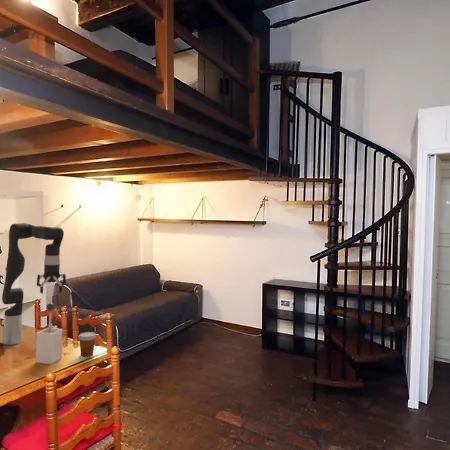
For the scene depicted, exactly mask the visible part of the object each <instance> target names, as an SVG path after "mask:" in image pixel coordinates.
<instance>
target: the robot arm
mask: <svg viewBox="0 0 450 450" xmlns="http://www.w3.org/2000/svg"><path fill="white" fill-rule="evenodd" d="M8 230H9V231H8V255H7V260H6V267H5V268H6V269H5V280H4V283H3V284H4V285H3V288H2V294H1V295H2V297H1V301H2V304H3V305H12V304H13V306H11V307H9V308H7V309H6V310H5V311H4V319H3V321H4V323H3V325H4V326H3V327H2V336H1V337H2V339H1V344H3V345H6V346H7V345H8V346H10V345H11V346H12V345H18V344H20V343H22V325H23V307H24V306H23V305H24V304H23V303H24V289H23V288H21V287H16V288H15V287H14V288H12V287H13V285H14V283H15V281H16V280H17V279H18V278H19V277H20V276H21V275H22V274H23V272H24V271H25V265H26V264H25V263H26V258H25V256H24V254H23V253H22V251H21V249H20V248H19V240H24V239H29V238H35V239H39V240H40V239H41V240H45V241H52V242H51V243H49V244H47V245H45V250H44V252H45V253H44V254H45V255H44V264H43V265H44V266H43V268H44V270H43V274H40V273H39V274H37V278H36V286H37V287H39V293H40V294H41V295H43V294H44V286H45V284H47V283H57V284H58V285H59V286H58V293H59V294H61V293H62V292H63V287H64V286H65V285H67V282H66V280H67V278H66V273H61V274H60V271H61V270H60V269H61V268H60V264H61V259H60V251H61V250H60V248H61V245H62V242H63V239H64V235H65V232H64V229H63V228H62V227H60V226H43V225H32V224H31V223H27V222H25V223H24V222H23V223H21V222H20V223H12V224H11V225H10V226H9V229H8ZM60 277H61V278H62V282H61V280H59V279H60ZM42 278H43V280H42V283H40V280H41V279H42Z"/></svg>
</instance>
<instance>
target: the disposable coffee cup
mask: <svg viewBox="0 0 450 450" xmlns="http://www.w3.org/2000/svg"><path fill="white" fill-rule="evenodd" d="M96 337H97V333H95V332H93V331H85V332H82V333H80V334H79V336H78V340H79V349H80V356H82V357H81V358H90V356H91V357H92V356H93V355H94V349H95V343H96Z"/></svg>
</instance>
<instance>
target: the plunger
mask: <svg viewBox="0 0 450 450" xmlns="http://www.w3.org/2000/svg"><path fill="white" fill-rule="evenodd" d="M55 308H56V307H55V304H54V303H52V302H51V303H48V304H47V305H46V310H47V311H48V312H49V315H48V316H49V320H48V328H49V332H46V333H50V334H52V333H54V332H51V327H52V311H54V310H55Z"/></svg>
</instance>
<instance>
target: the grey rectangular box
mask: <svg viewBox="0 0 450 450" xmlns="http://www.w3.org/2000/svg"><path fill="white" fill-rule="evenodd" d="M55 328H56V327H55ZM55 328H51V332H54V333H52V334H50V333H46V332H49V327H47V328H44V329H42V330H40V331H37V332H36V344H35V345H36V346H35V348H36V349H35V351H36V352H35V363H37V364H48V365H52V364H54V363H56V362H58V361H59V360H60V359H62V358H63V357H62V353H63V352H62V351H63V328H58V329H55Z"/></svg>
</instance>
